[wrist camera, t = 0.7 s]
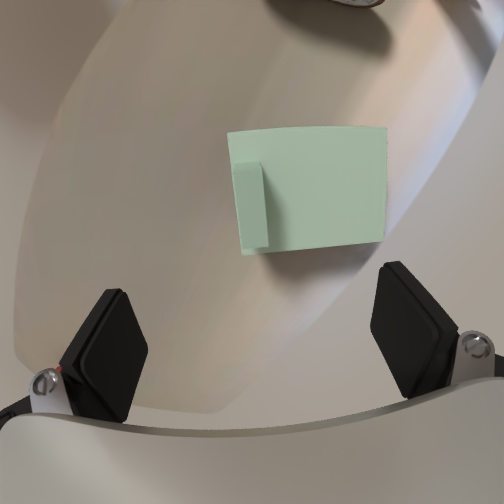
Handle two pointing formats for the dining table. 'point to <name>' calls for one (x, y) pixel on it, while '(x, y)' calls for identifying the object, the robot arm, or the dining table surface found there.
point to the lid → (309, 186)
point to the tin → (359, 3)
